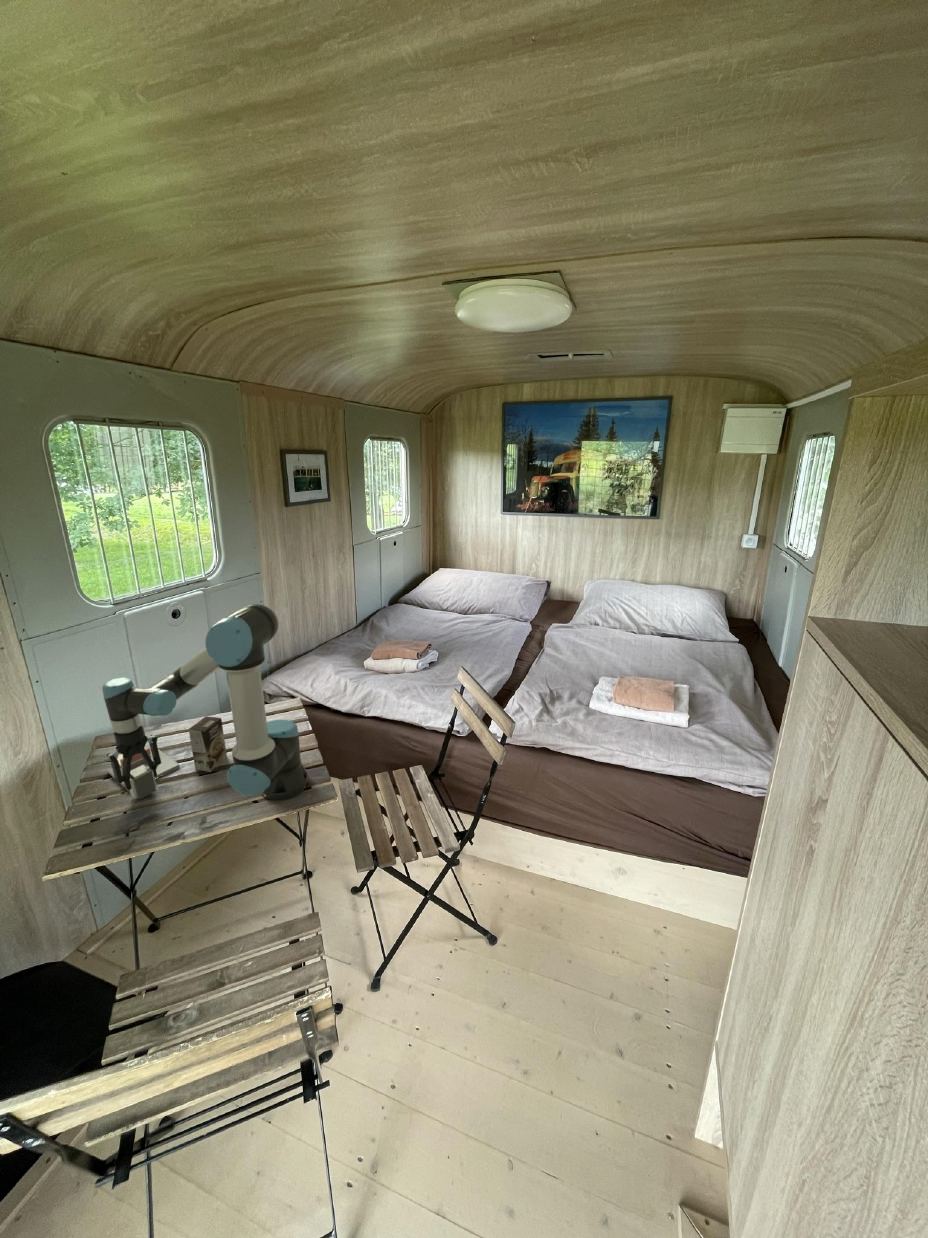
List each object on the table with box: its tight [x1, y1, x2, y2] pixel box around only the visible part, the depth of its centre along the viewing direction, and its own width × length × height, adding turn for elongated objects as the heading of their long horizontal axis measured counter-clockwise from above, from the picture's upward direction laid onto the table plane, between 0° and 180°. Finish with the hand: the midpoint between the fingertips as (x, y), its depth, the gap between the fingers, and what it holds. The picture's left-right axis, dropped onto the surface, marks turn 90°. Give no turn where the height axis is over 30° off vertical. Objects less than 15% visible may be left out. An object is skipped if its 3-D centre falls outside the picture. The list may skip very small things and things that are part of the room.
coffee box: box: [188, 715, 228, 773], centre depth 173 cm, size 9×6×16 cm
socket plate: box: [106, 748, 181, 793], centre depth 171 cm, size 16×16×1 cm
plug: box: [130, 765, 157, 800], centre depth 157 cm, size 5×5×8 cm
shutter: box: [117, 746, 151, 768], centre depth 174 cm, size 8×9×3 cm
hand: (144, 790), depth 159 cm, fingers closed on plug, 5 cm apart
